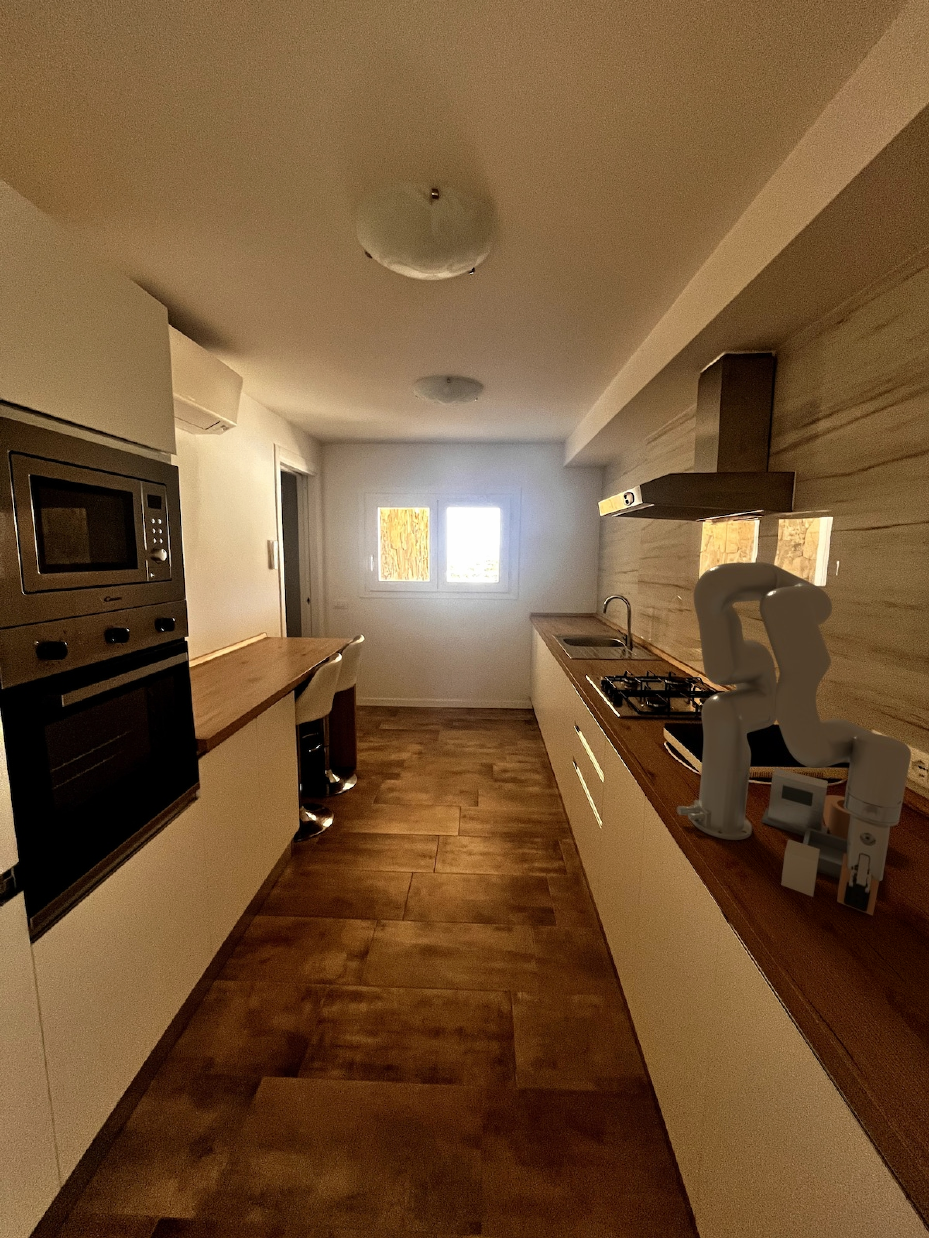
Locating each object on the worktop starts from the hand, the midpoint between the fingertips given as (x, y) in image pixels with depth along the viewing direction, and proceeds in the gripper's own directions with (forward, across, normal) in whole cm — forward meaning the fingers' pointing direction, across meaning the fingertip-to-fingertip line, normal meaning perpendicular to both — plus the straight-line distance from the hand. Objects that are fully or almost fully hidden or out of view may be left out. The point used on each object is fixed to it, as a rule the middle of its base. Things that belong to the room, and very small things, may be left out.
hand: (855, 896), depth 88 cm
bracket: (+2, +31, +2) cm, 31 cm away
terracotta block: (+1, 0, 0) cm, 1 cm away
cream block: (+2, 0, +8) cm, 9 cm away
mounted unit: (+2, +22, +11) cm, 25 cm away
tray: (+1, +12, +3) cm, 12 cm away
